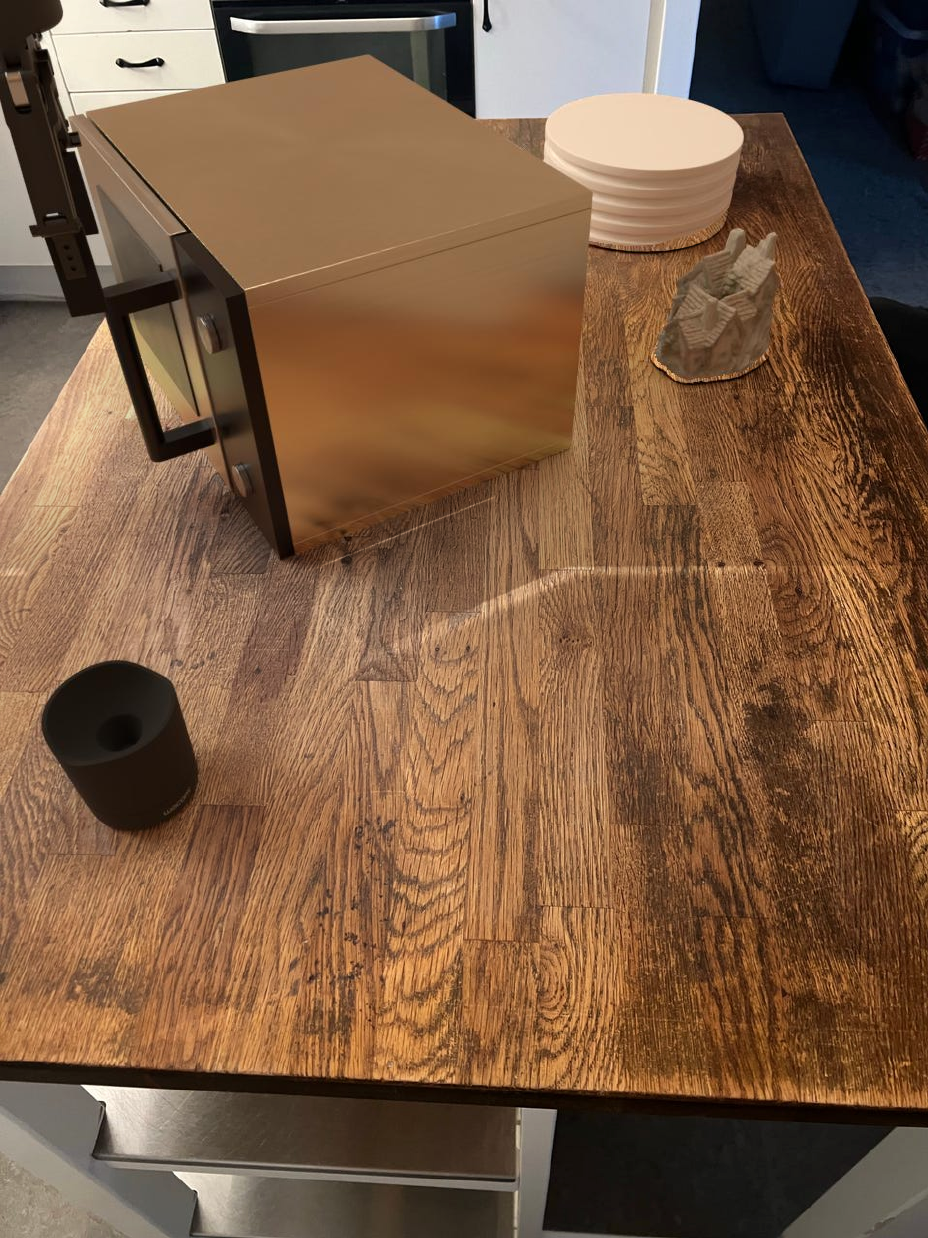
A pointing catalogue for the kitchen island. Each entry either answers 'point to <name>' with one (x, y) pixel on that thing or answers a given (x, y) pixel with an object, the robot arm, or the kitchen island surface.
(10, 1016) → the kitchen island surface
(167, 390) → the microwave door
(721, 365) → the ceramic cottage
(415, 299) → the microwave
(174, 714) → the pen holder
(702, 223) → the plate stack
